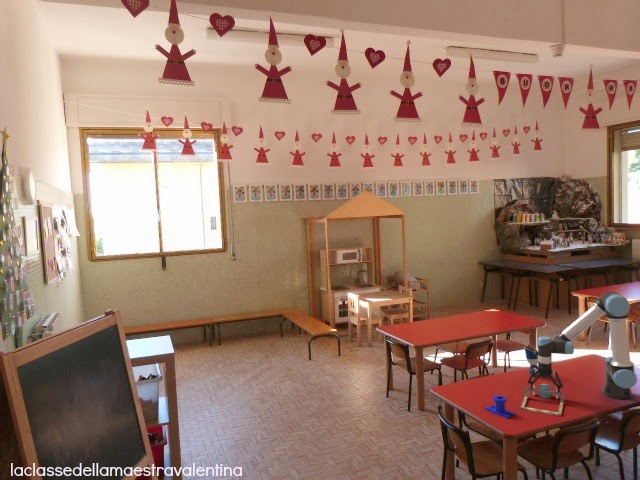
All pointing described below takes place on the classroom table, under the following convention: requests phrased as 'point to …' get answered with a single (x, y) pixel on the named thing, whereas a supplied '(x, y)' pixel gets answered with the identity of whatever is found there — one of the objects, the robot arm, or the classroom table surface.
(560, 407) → the shelf frame
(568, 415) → the classroom table surface
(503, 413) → the mount
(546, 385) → the grooved blue cylinder
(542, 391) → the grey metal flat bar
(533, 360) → the figurine
